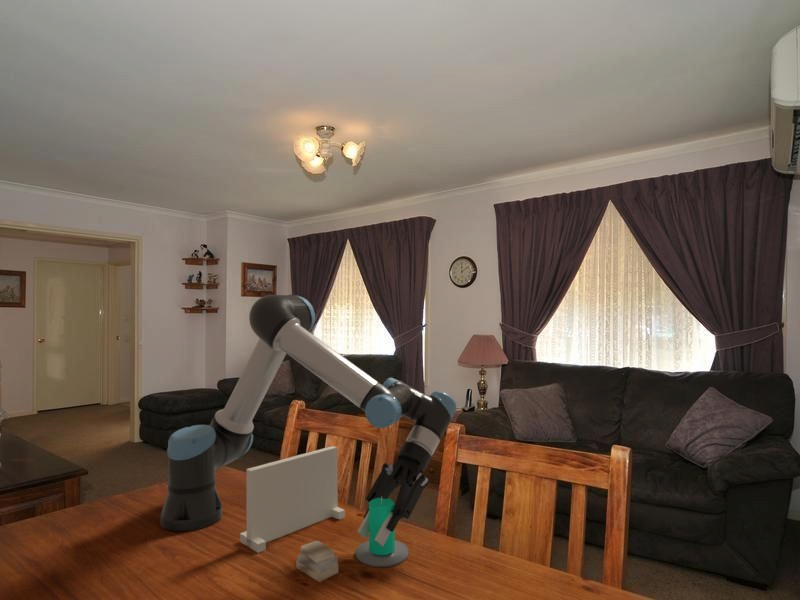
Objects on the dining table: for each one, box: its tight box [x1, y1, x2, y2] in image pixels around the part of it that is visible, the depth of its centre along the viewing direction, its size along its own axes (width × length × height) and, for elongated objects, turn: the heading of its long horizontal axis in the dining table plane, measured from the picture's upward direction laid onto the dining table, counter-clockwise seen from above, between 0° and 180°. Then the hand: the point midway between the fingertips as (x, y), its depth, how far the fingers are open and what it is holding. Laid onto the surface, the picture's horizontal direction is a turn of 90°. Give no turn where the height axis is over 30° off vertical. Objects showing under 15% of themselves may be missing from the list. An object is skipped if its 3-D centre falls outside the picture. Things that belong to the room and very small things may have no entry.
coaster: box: [355, 539, 409, 568], centre depth 116 cm, size 12×12×1 cm
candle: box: [368, 496, 396, 555], centre depth 116 cm, size 6×6×12 cm
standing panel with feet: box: [239, 445, 346, 554], centre depth 129 cm, size 8×26×18 cm, turn 137°
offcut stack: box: [295, 540, 339, 583], centre depth 109 cm, size 8×5×4 cm, turn 47°
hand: (370, 538), depth 113 cm, fingers closed on candle, 5 cm apart
